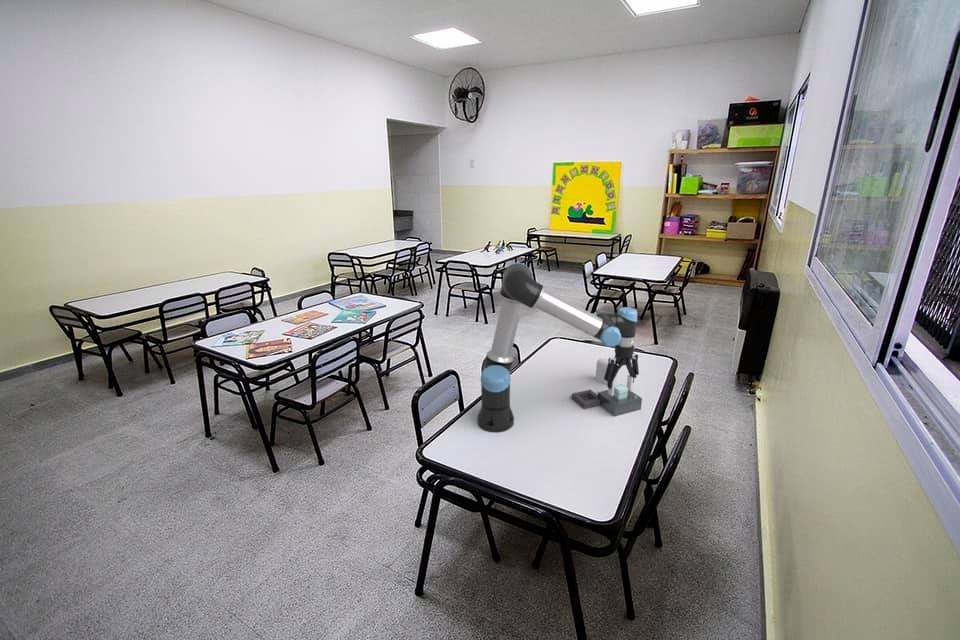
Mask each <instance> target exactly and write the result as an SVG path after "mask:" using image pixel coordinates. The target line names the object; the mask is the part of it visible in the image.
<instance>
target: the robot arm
mask: <svg viewBox="0 0 960 640" xmlns="http://www.w3.org/2000/svg"><path fill="white" fill-rule="evenodd" d="M502 274H503V275H502V282H501V286H500V287H501V288H500V292H499V296H500V297H501V298H502V300H501V305H500V308H499V309H500V310H499V312H498V313H499V314H498V317H497V321H496V326H495V331H494V336H493V340H492V343H491V350H488V351H487V352H486V356H485V360H484V362H483V365H482V372H481V374H480V387H481V388H480V389H481V393H480V394H481V406H480V410H479V413H478V416H477V424H478V426H479V427H480V428H481V429H482V430H484V431H487V432H490V433H501V432H505V431H508V430H509V429H511V428H512V427H513V426H514V424H515V417H514V416H515V415H514V414H513V410H512V408H511V370H512V366H513V362H514V357H513V355H512V351H513V347H514V342H515V337H516V335H517V334H516V333H517V330H518V326H519V322H520V317H521V312H522V309H523V306H526V307H527V308H529V309H534V308H536V309H538V310H540V311H542V312H544V313H546V314H548V315H550V316H552V317H554V318H556V319H558V320H560V321H561V322H564V323H566V324H568V325H569V326H572V327H573V328H576V329H578V330H579V331H582V332H583V333H586V334H587V335H589V336H591V337H593V338H595V339H597V340H599V341H600V342H601V343H602V344H603V345H604V346H605V347H607V348H613V347H614V354H615V355H614V356H613V357H612V358H611V357H609V358H608V366H607V369H606V373H605V376H604V380H606V381H607V382H608V385H606V386H607V390H608V394H610V395H611V396H613V394H614V383H615V382H614V381H613V380H614V378H615V377H616V378H617V375H618V373H619V371H620V369H621V368H622V367H623V366H625V367H626V369H627V372H628V375H627V380H626V387H627V388H628V390H629V391H630V392H631V391H632V392H633V385H634V383H635V379H636V378H637V376H639V374H640V372H639V371H640V369H639V363H638V362H639V361H638V358H639V354H636V353H635V351H634V350H635V341H636V331H637V323H638V310H637V309H635V308H633V307H628V306H625V307H619V308H618V311H617V312H614V313H613V312H612V313H611V312H607V313H606V312H603V313H600V312H599V313H598V312H594V313H591V312H590V311H587V310H585V309H583V308H582V307H580V306H577V305H576V304H575V303H574V304H573V302H569V301H568V300H566V299H564V298H562V297H561V296H558V295H556V294H554V293H553V292H551V291H548V290H547V289H545V287H544V285H543V284H540V283H539V282H538V281H536V280H535V279H534V278H533V273H532V270H531V269H530V268H529V267H528V266H527V265H526V264H524V263H522V262H514V263H511V264H509V265H508V266H507V267H506V268H505V269H504V271H503V273H502Z"/></svg>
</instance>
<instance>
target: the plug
mask: <svg viewBox="0 0 960 640" xmlns="http://www.w3.org/2000/svg"><path fill="white" fill-rule="evenodd" d="M627 394H628V388H627V386H625V385H624V384H623V383H619V384H615V385H614V394H613V396H614V397H615V398H617V399H618V400H619V399H623V398H627Z"/></svg>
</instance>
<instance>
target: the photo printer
mask: <svg viewBox="0 0 960 640" xmlns="http://www.w3.org/2000/svg"><path fill="white" fill-rule="evenodd" d="M608 359H609V358H608ZM608 359H607V358H602V357H600V358H598V359H597V360H596V367H595V368H596V369H595V381H597V382H599V383H601V384H602V385H603V384H604V385H606V386H607V385H608V382H607V381H606V380H604V376H605V373H606V369H607V366H608ZM613 381H614V382H615V383H614V385H617V376H616V377H615V378H614V380H613Z"/></svg>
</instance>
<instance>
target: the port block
mask: <svg viewBox="0 0 960 640" xmlns="http://www.w3.org/2000/svg"><path fill="white" fill-rule="evenodd" d="M597 395H598V396H597V398H598V399H599V400H600V407H601V408H602V409H603V410H605V411H607V413H609V414H610V415H611V416H612V417H614V418H615V417H618V416H622V415H625V414H629V413H633V412H637V411H640V410H642V401H643V398H642V397H641V396H639V395H638V394H637V393H635V392H633V390H632V391H631V392H630V391H629V390H628V394H627V398H623V399H619V400H618V399H617V398H615V397H614V396H611V395H610V394H608V389H607V390H602V391H598V392H597Z"/></svg>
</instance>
